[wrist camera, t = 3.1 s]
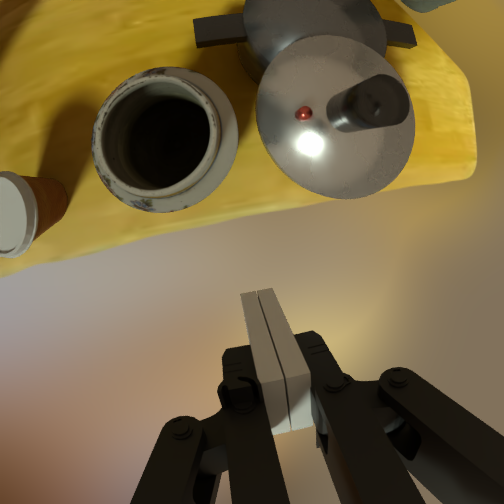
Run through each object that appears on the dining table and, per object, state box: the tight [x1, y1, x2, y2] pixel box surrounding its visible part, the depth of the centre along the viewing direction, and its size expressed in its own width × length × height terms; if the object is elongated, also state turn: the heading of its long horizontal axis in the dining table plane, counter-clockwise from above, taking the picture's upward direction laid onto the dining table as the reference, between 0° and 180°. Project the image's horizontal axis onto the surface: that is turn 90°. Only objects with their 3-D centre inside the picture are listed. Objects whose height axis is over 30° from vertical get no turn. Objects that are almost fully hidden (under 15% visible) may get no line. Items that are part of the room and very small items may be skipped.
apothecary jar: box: [91, 67, 238, 213], centre depth 26 cm, size 12×12×18 cm
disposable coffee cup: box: [0, 171, 67, 258], centre depth 29 cm, size 10×10×12 cm
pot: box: [193, 0, 417, 85], centre depth 28 cm, size 16×26×9 cm, turn 98°
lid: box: [255, 35, 415, 199], centre depth 23 cm, size 17×17×9 cm
